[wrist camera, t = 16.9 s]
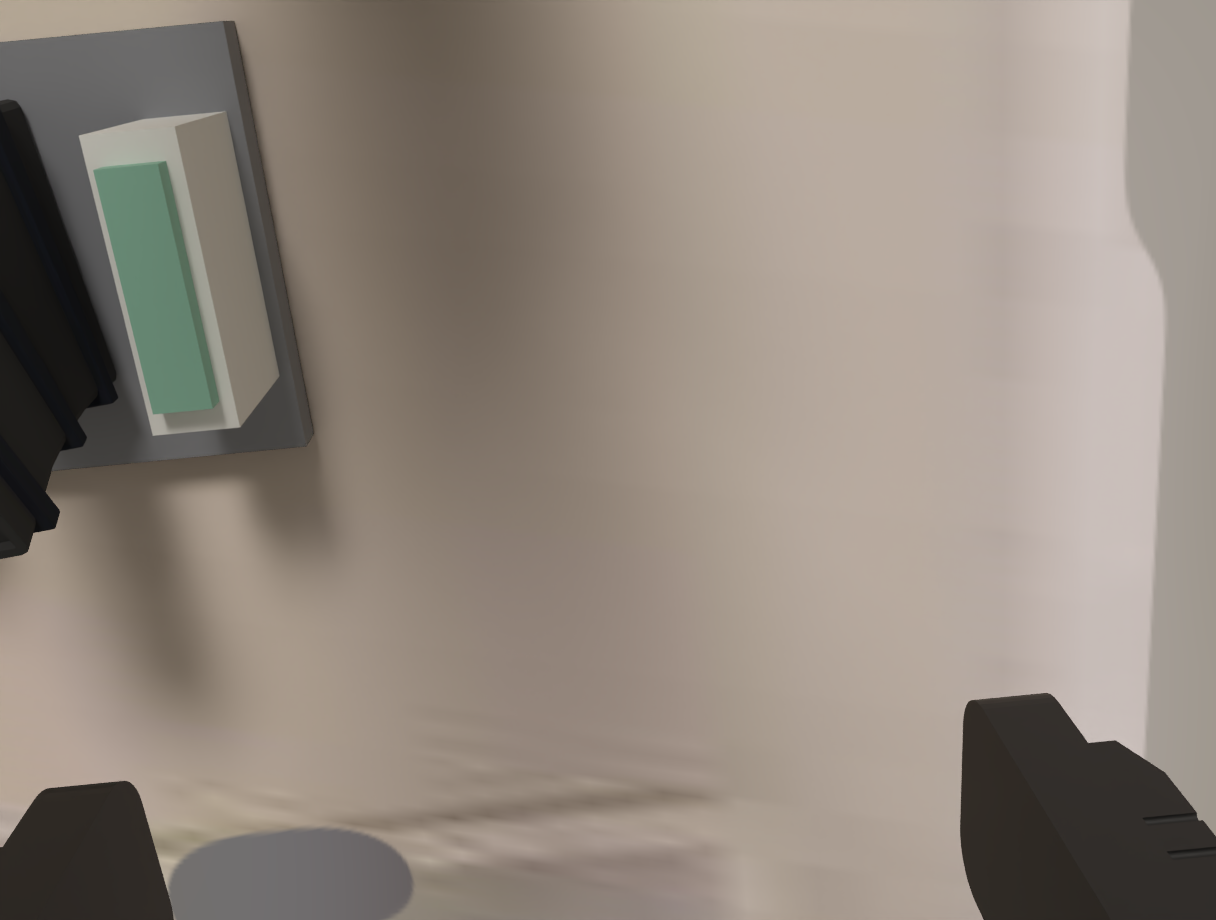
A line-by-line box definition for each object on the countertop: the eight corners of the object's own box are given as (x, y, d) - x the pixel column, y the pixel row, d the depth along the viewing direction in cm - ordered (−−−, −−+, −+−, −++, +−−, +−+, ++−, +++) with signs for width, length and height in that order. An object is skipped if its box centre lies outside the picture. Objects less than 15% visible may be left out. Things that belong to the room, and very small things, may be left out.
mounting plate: (-234, 65, 42) (-415, 77, 34) (234, 20, 42) (160, 22, 34) (-97, 473, 48) (-225, 562, 40) (313, 433, 48) (266, 515, 40)
